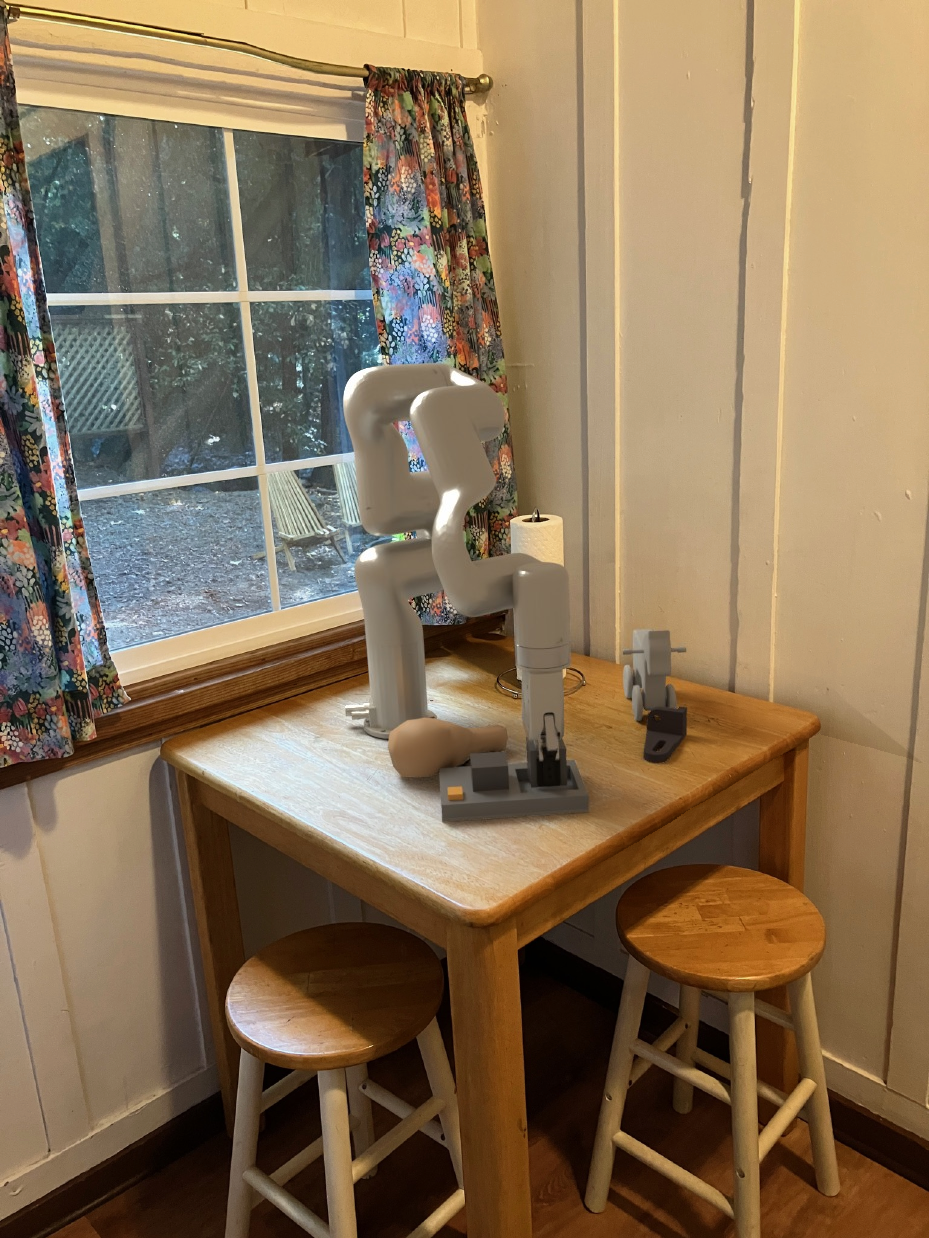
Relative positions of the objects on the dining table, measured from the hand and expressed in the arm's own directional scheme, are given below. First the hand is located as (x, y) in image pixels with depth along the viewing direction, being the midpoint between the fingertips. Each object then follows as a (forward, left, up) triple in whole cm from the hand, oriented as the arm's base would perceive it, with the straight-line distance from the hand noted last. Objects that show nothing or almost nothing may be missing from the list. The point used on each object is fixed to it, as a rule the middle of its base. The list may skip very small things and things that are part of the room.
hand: (546, 775), depth 136 cm
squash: (-13, +13, -3) cm, 19 cm away
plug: (0, 0, -1) cm, 1 cm away
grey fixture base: (-5, 0, -3) cm, 6 cm away
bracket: (+19, +15, -4) cm, 25 cm away
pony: (+22, +30, -3) cm, 37 cm away
